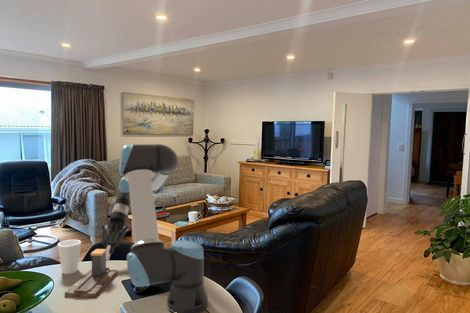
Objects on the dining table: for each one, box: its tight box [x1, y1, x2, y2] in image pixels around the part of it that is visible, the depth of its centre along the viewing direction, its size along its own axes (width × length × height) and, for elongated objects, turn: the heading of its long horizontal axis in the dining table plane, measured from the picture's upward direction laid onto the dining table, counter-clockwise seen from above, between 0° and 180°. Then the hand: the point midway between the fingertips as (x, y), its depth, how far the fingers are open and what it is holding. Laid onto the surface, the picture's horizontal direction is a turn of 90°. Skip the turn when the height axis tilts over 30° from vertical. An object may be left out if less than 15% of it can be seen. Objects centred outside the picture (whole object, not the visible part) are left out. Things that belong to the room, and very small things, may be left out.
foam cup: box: [57, 239, 82, 275], centre depth 155 cm, size 10×9×13 cm
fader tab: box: [90, 248, 107, 276], centre depth 148 cm, size 5×6×10 cm
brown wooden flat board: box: [64, 267, 118, 298], centre depth 142 cm, size 12×22×2 cm, turn 178°
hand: (106, 259), depth 156 cm, fingers closed
